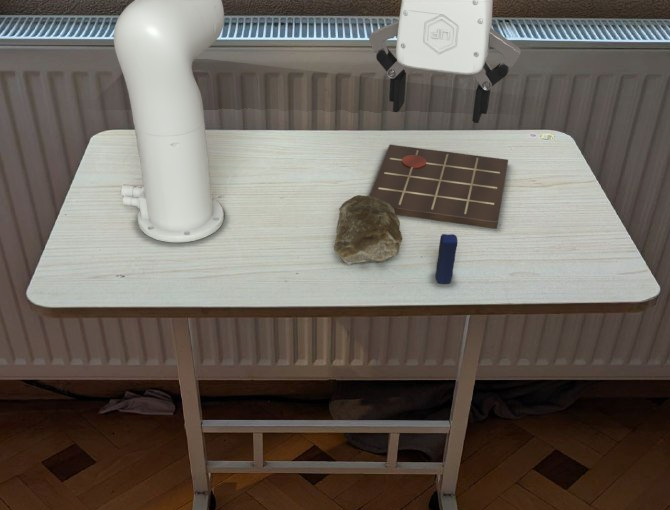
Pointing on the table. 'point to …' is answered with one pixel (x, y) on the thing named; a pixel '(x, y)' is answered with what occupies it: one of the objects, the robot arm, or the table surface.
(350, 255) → the stone
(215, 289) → the table surface
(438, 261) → the eraser
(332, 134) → the table surface
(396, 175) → the board
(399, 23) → the robot arm
